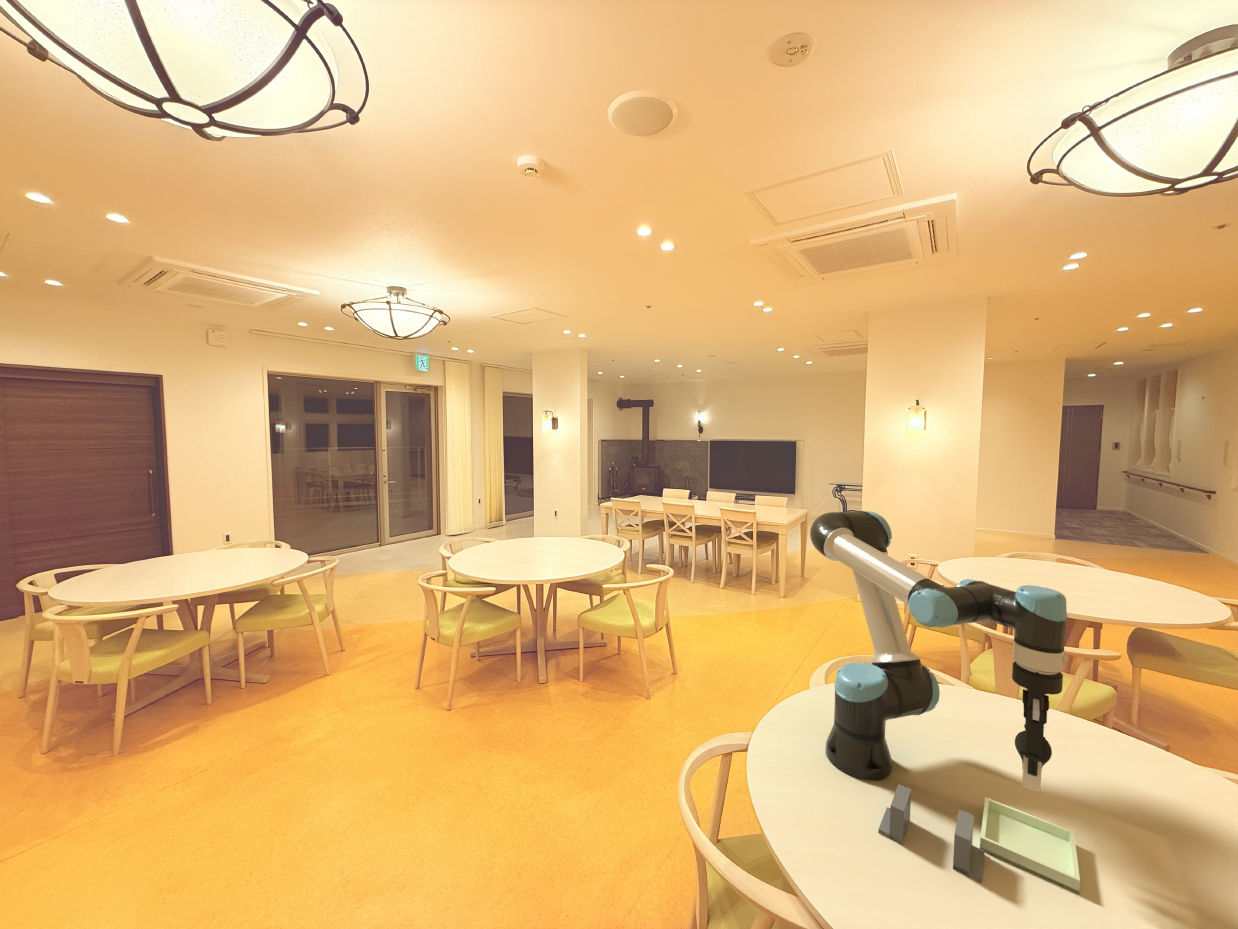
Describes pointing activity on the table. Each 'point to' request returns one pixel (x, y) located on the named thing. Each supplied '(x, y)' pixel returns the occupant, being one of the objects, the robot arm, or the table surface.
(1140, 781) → the table surface
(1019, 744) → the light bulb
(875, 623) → the robot arm
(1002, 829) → the tray
